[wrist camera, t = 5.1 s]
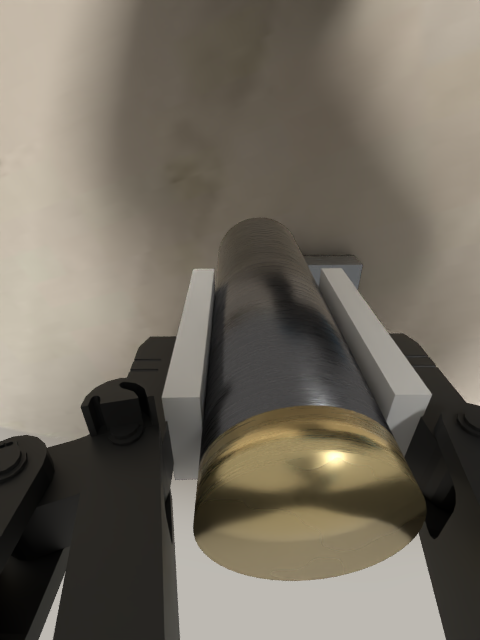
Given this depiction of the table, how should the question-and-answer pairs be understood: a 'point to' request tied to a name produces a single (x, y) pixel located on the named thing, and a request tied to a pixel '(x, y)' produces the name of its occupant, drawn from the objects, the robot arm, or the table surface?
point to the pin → (292, 428)
